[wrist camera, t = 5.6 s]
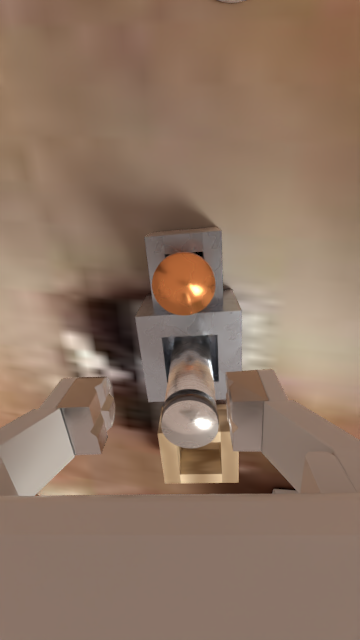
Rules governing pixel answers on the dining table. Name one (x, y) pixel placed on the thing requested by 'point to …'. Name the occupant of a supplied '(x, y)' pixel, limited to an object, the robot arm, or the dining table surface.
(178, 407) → the banded metal cylinder
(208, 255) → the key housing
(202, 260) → the orange rounded piece
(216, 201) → the dining table surface
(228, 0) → the mug
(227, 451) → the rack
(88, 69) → the dining table surface
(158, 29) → the dining table surface
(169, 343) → the socket block
